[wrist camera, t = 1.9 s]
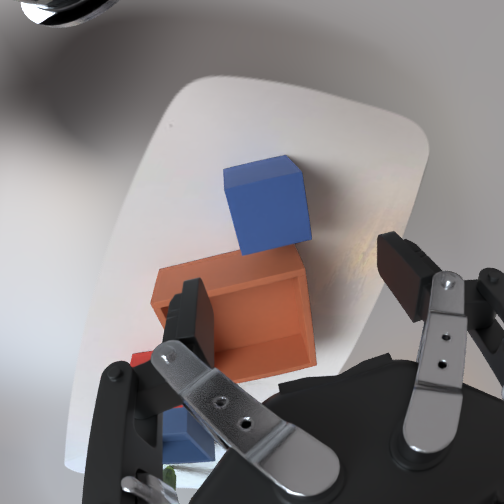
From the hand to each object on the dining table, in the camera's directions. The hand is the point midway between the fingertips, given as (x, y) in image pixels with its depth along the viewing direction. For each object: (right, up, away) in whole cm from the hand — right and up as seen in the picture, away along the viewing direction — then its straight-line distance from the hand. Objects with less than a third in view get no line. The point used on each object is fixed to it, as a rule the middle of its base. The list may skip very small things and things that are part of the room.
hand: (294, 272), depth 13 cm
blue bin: (-14, -24, +25) cm, 38 cm away
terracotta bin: (-3, -4, +14) cm, 15 cm away
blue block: (-1, +5, +9) cm, 11 cm away
